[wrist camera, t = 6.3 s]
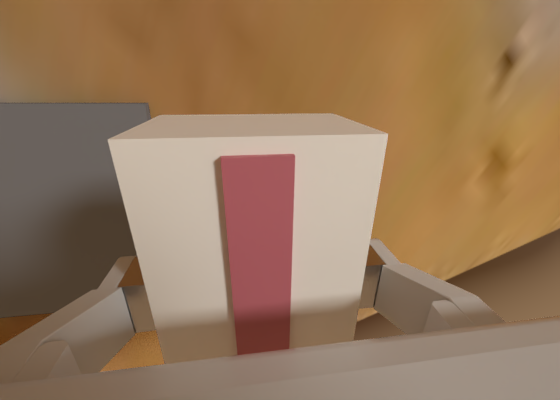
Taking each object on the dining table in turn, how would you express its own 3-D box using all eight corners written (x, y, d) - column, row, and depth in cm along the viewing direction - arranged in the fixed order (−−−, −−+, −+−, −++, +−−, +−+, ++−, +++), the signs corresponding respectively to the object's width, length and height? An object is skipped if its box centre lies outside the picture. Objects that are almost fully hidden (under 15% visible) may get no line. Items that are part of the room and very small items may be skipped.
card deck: (160, 115, 9) (103, 141, 5) (332, 113, 10) (393, 135, 6) (196, 328, 13) (178, 430, 9) (315, 315, 14) (344, 404, 10)
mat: (-112, 102, 17) (-127, 103, 17) (147, 102, 20) (144, 103, 19) (0, 311, 25) (-8, 318, 24) (181, 295, 27) (180, 301, 26)
